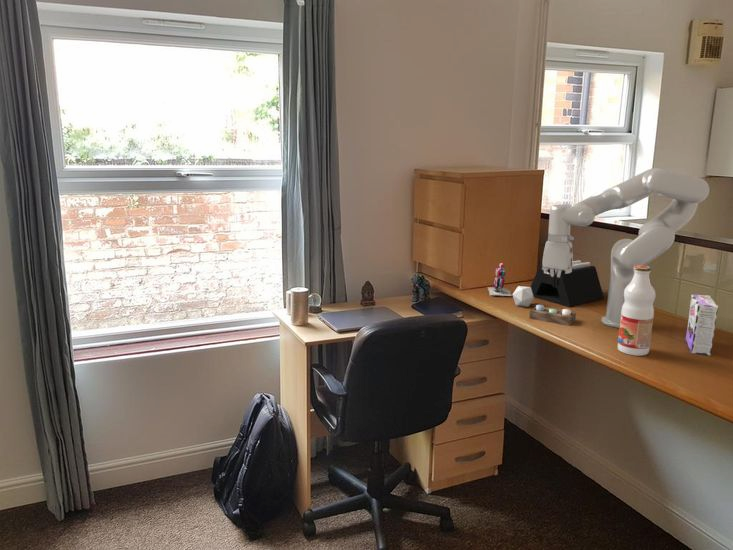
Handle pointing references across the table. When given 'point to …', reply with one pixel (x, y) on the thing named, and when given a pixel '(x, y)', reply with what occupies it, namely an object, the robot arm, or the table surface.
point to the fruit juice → (637, 314)
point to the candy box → (701, 324)
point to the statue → (499, 284)
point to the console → (552, 316)
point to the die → (523, 296)
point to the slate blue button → (540, 307)
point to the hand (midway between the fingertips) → (555, 286)
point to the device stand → (569, 286)
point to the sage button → (553, 311)
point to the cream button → (566, 312)
